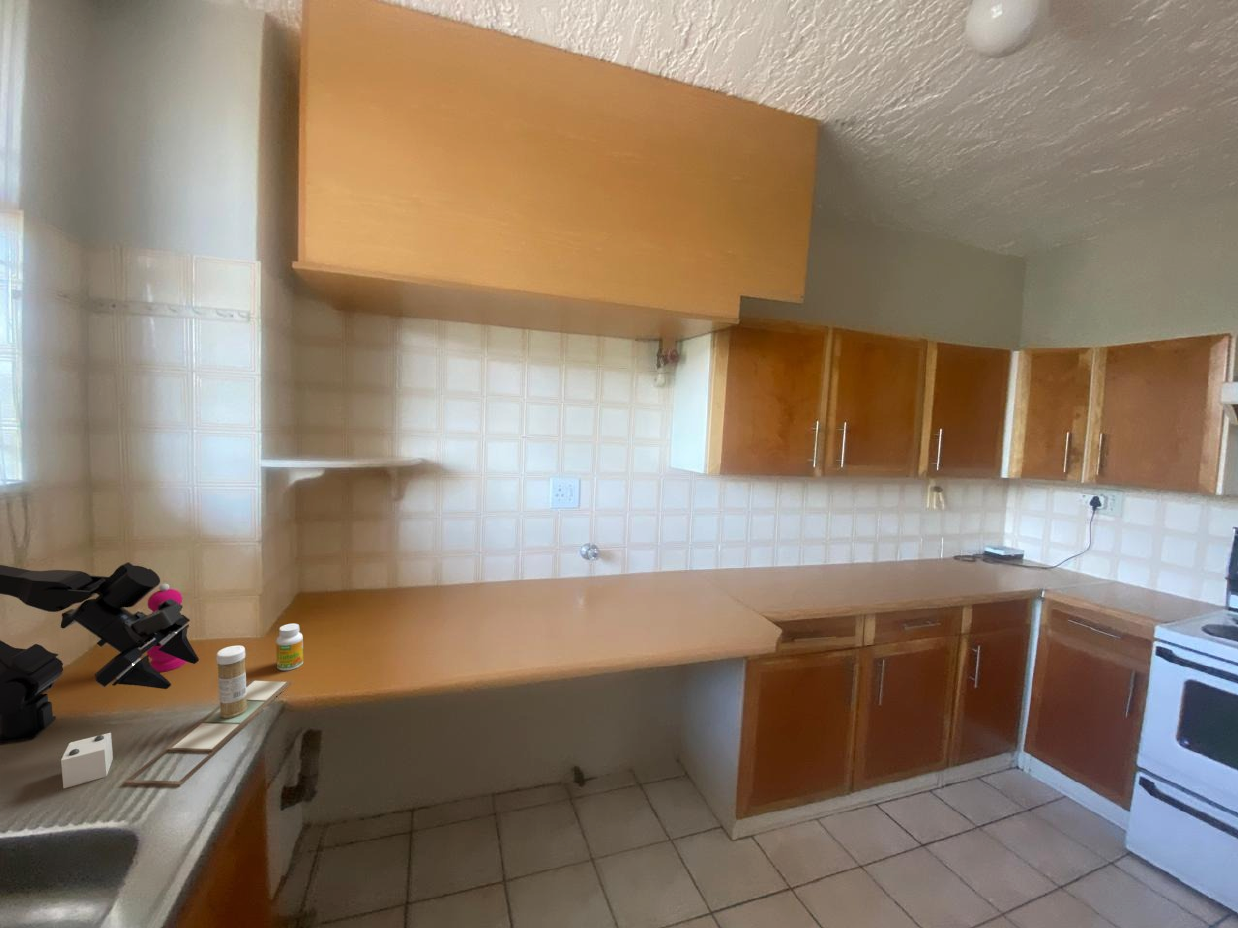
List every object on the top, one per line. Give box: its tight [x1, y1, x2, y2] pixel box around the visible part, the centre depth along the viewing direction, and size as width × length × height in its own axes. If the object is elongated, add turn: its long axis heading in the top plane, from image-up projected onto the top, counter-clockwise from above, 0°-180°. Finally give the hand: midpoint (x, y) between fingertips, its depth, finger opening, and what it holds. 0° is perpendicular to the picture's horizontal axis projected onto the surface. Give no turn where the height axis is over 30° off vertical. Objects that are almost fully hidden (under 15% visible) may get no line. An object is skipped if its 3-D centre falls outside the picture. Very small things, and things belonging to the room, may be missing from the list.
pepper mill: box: [146, 583, 187, 673], centre depth 118 cm, size 7×7×20 cm
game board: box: [123, 680, 293, 787], centre depth 99 cm, size 9×30×1 cm, turn 2°
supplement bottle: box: [275, 623, 304, 671], centre depth 121 cm, size 5×5×10 cm
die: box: [60, 732, 114, 789], centre depth 85 cm, size 5×5×6 cm
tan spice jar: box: [216, 645, 247, 718], centre depth 102 cm, size 5×5×14 cm
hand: (183, 673), depth 100 cm, fingers open, 9 cm apart
